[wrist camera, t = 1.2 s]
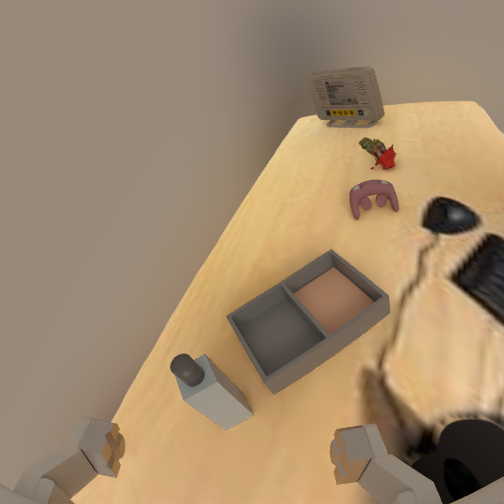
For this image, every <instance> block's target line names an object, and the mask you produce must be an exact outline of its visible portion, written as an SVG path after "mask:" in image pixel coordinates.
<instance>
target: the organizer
mask: <svg viewBox="0 0 504 504" xmlns="http://www.w3.org/2000/svg"><path fill="white" fill-rule="evenodd" d="M389 313H390V307H389V295H387V294H386V293H385V292H384V291H383V290H381V289H380V288H379V287H378V286H376V285H375V284H374V283H373V282H372V281H370V280H369V279H368V278H367V277H365V276H364V275H363V274H362V273H360V272H359V271H358V270H357V269H355V268H354V267H353V266H352V265H350V264H349V263H348V262H347V261H345V260H344V259H343V258H342V257H340V256H339V255H338V254H337V253H335V252H334V251H333V250H329V251H328V252H326V253H324V254H323V255H321V256H320V257H318V258H317V259H315V260H314V261H312V262H311V263H309V264H308V265H306V266H305V267H303V268H302V269H300V270H299V271H297V272H295V273H294V274H292V275H291V276H289V277H288V278H286V279H285V280H283V281H281V282H280V283H278V284H277V285H275V286H274V287H272V288H270V289H269V290H267V291H266V292H264V293H263V294H261V295H259V296H258V297H256V298H255V299H253V300H251V301H250V302H248V303H247V304H245V305H243V306H242V307H240V308H238V309H237V310H235V311H234V312H232V313H230V314H229V315H227V316H226V317H227V318H228V320H229V322H230V324H231V326H232V327H233V329H234V331H235V333H236V335H237V336H238V338H239V340H240V342H241V343H242V345H243V347H244V349H245V350H246V352H247V354H248V356H249V357H250V359H251V361H252V362H253V364H254V366H255V368H256V369H257V371H258V373H259V374H260V376H261V378H262V379H263V381H264V383H265V384H266V385H267V386H268V388H269V389H270V390H271V391H272V392H273V394H276V393H277V392H279V391H281V390H282V389H284V388H285V387H287V386H289V385H290V384H292V383H293V382H295V381H296V380H298V379H300V378H301V377H303V376H304V375H306V374H307V373H309V372H310V371H312V370H313V369H315V368H316V367H318V366H319V365H321V364H322V363H324V362H325V361H326V360H328V359H329V358H331V357H332V356H334V355H335V354H336V353H338V352H339V351H341V350H342V349H343V348H345V347H346V346H348V345H349V344H350V343H352V342H353V341H354V340H356V339H357V338H358V337H360V336H361V335H362V334H364V333H365V332H366V331H368V330H369V329H370V328H371V327H373V326H374V325H375V324H377V323H378V322H379V321H380V320H382V319H383V318H384V317H385V316H387V315H388V314H389Z"/></svg>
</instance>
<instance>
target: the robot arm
mask: <svg viewBox="0 0 504 504" xmlns="http://www.w3.org/2000/svg"><path fill="white" fill-rule="evenodd" d="M119 430H120V428H119V426H118V424H116V423H111V422H105V421H101V420H97V419H92V418H88V417H83V416H82V417H81V418H79V420H78V422H77V424H76V426H75V428H74V430H73V432H72V434H71V436H70V439H69V441H68V443H67V445H62V446H60V447H59V448H57V449H56V450H54V451H52V452H51V453H49V454H47V455H46V456H44V457H43V458H41V459H39V460H38V461H36V462H35V463H33V464H31V465H29V466H28V467H26V468H24V471H23V473H22V475H21V477H20V479H19V481H18V483H17V485H16V487H15V489H14V491H13V490H11V489H9V488H7V487H5V486H4V485H2V484H0V504H75V503H74V502H72V501H71V500H70V499H71V498H72V497H73V496H74V495H75V494H76V493H78V492H79V491H80V490H81V489H82V488H83V487H85V486H86V485H87V484H88V483H89V482H90V481H91V480H93V479H94V478H95V477H96V476H97V475H98V474H101V475H106V476H110V477H115V478H117V475H118V472H119V469H120V466H121V465H120V463H119V459H121V458H122V457H123V456H124V452H125V440H124V437H123V435H121V434H120V433H119ZM334 437H335V439H334V440H333V441H332V442H331V445H330V458H331V462H332V463H333V464H334V465H335V466H336V467H335V469H334V475H335V479H336V483H337V485H339V484H346V483H353V482H358V483H359V484H360V485H361V486H362V487H363V488H364V489H365V490H366V491H367V492H368V493H369V494H370V495H371V496H372V497H374V498H375V499H376V500H377V501H378V502H379V503H380V504H442V502H441V499H440V497H439V494H438V492H437V490H436V488H435V485H434V483H433V482H432V481H431V480H429V479H428V478H426V477H425V476H423V475H421V474H420V473H418V472H417V471H415V470H414V469H412V468H411V467H409V466H408V465H406V464H405V463H403V462H402V461H400V460H399V459H398V458H396V457H395V456H393V455H392V454H391V455H388V453H387V451H386V448H385V446H384V443H383V441H382V438H381V436H380V433H379V431H378V428H377V426H376V425H375V424H368V425H363V426H361V425H360V426H354V427H348V428H341V429H337V430H336V431H335V433H334ZM451 504H504V477H502V478H500V479H499V480H497V481H495V482H493V483H491V484H490V485H488V486H486V487H484V488H482V489H480V490H478V491H476V492H474V493H472V494H470V495H468V496H466V497H464V498H462V499H460V500H458V501H455V502H453V503H451Z"/></svg>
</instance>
